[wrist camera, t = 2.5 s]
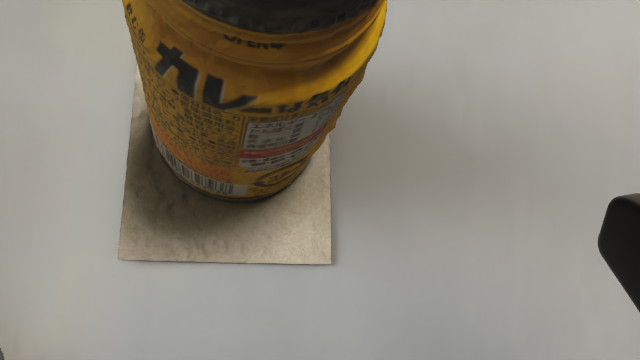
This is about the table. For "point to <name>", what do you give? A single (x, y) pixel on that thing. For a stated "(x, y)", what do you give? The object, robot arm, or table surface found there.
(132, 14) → the condiment
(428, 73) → the table surface
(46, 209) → the table surface
